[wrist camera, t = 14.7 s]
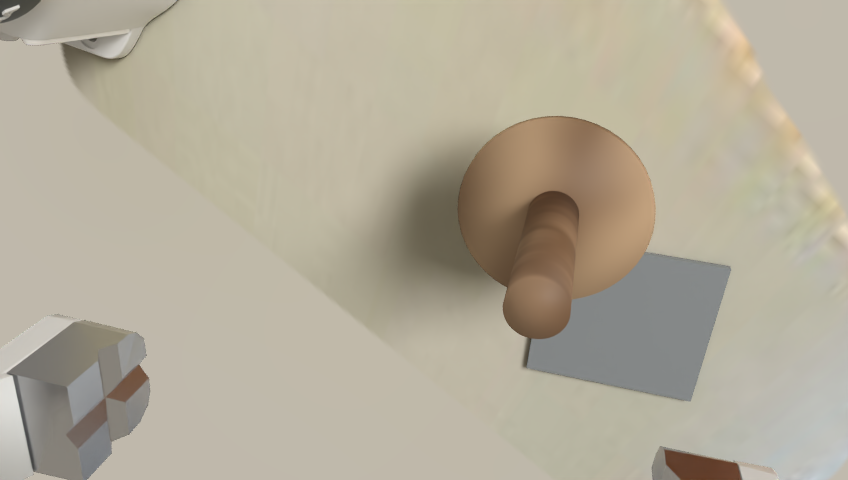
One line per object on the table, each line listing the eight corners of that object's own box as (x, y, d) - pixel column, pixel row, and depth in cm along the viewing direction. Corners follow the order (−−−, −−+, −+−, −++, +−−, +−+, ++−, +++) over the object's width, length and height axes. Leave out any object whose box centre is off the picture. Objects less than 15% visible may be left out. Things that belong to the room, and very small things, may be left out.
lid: (450, 275, 39) (401, 386, 30) (472, 101, 35) (423, 167, 26) (630, 311, 38) (638, 440, 28) (676, 133, 33) (705, 215, 24)
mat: (527, 364, 49) (526, 367, 48) (549, 235, 44) (549, 238, 44) (689, 397, 47) (690, 401, 46) (730, 266, 42) (731, 269, 42)
